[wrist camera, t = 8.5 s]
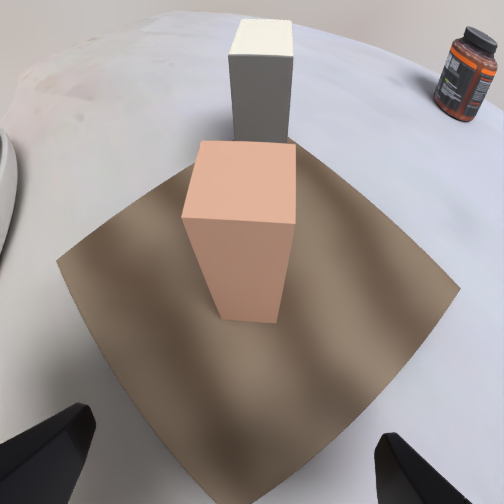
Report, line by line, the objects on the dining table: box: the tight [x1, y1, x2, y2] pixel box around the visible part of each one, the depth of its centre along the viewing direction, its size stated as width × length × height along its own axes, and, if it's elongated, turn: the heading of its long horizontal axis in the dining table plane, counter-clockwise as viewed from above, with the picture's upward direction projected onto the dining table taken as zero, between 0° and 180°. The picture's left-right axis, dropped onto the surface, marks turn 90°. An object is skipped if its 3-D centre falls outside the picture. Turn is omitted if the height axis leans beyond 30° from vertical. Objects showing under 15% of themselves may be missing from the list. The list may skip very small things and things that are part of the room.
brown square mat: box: [56, 137, 461, 504], centre depth 19 cm, size 20×20×1 cm
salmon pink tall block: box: [181, 141, 296, 324], centre depth 13 cm, size 3×3×10 cm
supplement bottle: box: [434, 26, 497, 121], centre depth 24 cm, size 6×6×11 cm
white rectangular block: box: [228, 19, 293, 144], centre depth 18 cm, size 6×3×10 cm, turn 175°
